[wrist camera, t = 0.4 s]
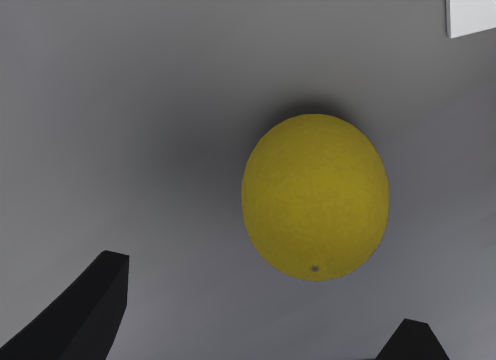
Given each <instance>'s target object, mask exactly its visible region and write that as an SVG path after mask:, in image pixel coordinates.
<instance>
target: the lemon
mask: <svg viewBox="0 0 496 360" xmlns="http://www.w3.org/2000/svg"><path fill="white" fill-rule="evenodd" d="M241 200H242V214H243V219H244V223H245V227H246V229H247V232H248V234H249V237H250V239H251V242H252V244H253V245H254V247H255V248H256V249H257V251H258V252H259V253H260V255H261V256H262V257H263V258H264V260H265V261H267V262H268V263H269V264H270V265H272V266H273V267H274V268H276V269H277V270H278V271H280V272H282V273H285V274H287V275H289V276H291V277H295V278H298V279H302V280H309V281H325V280H330V279H334V278H338V277H342V276H344V275H346V274H348V273H350V272H353V271H354V270H355V269H357V268H358V267H359V266H361V265H362V264H363V263H365V262H366V261H367V260H368V259H369V257H370V256H371V255H372V254H373V252H374V251H375V250H376V248H377V247H378V246H379V243H380V241H381V238H382V236H383V233H384V231H385V228H386V225H387V221H388V213H389V184H388V179H387V176H386V172H385V169H384V166H383V163H382V160H381V158H380V156H379V154H378V152H377V151H376V150H375V148H374V147H373V145H372V144H371V142H370V141H369V139H368V138H367V137H366V136H365V135H364V134H363V133H362V132H360V131H359V130H358V129H357V128H356V127H354V126H353V125H352V124H350V123H348V122H346V121H343V120H341V119H339V118H337V117H334V116H329V115H324V114H303V115H299V116H296V117H292V118H289V119H287V120H285V121H283V122H281V123H279V124H278V125H276V126H274V127H273V128H272V129H271V130H269V131H268V132H267V133H266V134H265V135H264V136H263V137H262V138H261V139H260V140H259V142H258V143H257V145H256V147H255V148H254V150H253V152H252V153H251V155H250V157H249V159H248V161H247V164H246V168H245V172H244V176H243V180H242V186H241Z"/></svg>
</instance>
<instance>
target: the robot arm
mask: <svg viewBox="0 0 496 360" xmlns="http://www.w3.org/2000/svg"><path fill="white" fill-rule="evenodd" d="M128 272H129V255H124V254H120V253H116V252H111V251H107V250H105V251H103V252H101V253H100V254H99V255H98V256H97V258H96V259H95V260H94V261H93V262H92V263H91V264H90V265H89V266H88V267H87V268H86V269H85V271H84V272H83V273H82V274H81V275H80V276H79V277H78V278H77V279H76V280H75V281H74V282H73V283H72V284H71V285H70V286H69V287H68V288H67V289H66V290H65V291H64V292H63V293H62V294H61V295H59V296H58V297H57V298H56V299H55V300H54V301H53V302H52V303H51V304H50V305H49V306H48V307H47V308H46V309H44V310H43V311H42V312H41V313H40V314H39V315H38V316H37V317H36V318H35V319H34V320H33V321H31V322H30V323H29V324H28V325H27V326H26V327H24V328H23V329H22V330H21V331H20V332H19V333H17V334H16V335H15V336H14V337H13V338H12V339H10V340H9V341H8V342H7V343H6V344H5V345H3V346H2V347H1V348H0V360H105V359H106V357H107V355H108V353H109V351H110V349H111V347H112V344H113V342H114V339H115V337H116V334H117V331H118V328H119V326H120V323H121V320H122V317H123V315H124V312H125V309H126V306H127V291H128ZM375 360H450V359H449V358H448V356H447V354H446V353H445V351H444V349H443V348H442V346H441V345H440V343H439V341H438V340H437V338H436V336H435V335H434V333H433V332H432V330H431V328H430V327H429V325H428V324H427V323H423V322H418V321H414V320H410V319H404V320H403V321H402V323H401V324H400V325H399V327H398V328H397V330H396V331H395V332H394V334H393V335H392V336H391V338H390V339H389V341H388V342H387V343H386V345H385V346H384V347H383V349H382V350H381V352H380V353H379V354H378V356H377V357H376V358H375Z"/></svg>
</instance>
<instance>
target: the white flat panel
mask: <svg viewBox="0 0 496 360" xmlns="http://www.w3.org/2000/svg"><path fill="white" fill-rule="evenodd" d="M446 14H447V35H448V36H449V37H450V38H455V37H459V36H463V35H467V34H471V33H475V32H479V31H483V30H487V29H491V28H495V27H496V0H446Z"/></svg>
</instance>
